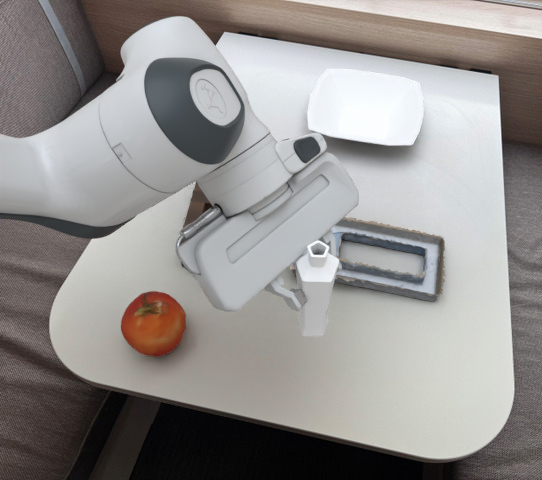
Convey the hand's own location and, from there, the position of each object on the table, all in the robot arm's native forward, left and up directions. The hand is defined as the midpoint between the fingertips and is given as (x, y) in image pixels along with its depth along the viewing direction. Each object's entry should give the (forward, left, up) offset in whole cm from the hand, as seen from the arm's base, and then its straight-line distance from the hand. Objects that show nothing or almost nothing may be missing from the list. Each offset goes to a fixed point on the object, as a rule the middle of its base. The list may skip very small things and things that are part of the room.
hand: (318, 288), depth 56 cm
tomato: (-10, +21, -24) cm, 33 cm away
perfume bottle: (0, +1, -9) cm, 9 cm away
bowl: (+49, +28, -24) cm, 61 cm away
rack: (+13, +30, -24) cm, 40 cm away
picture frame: (+22, +6, -24) cm, 33 cm away
